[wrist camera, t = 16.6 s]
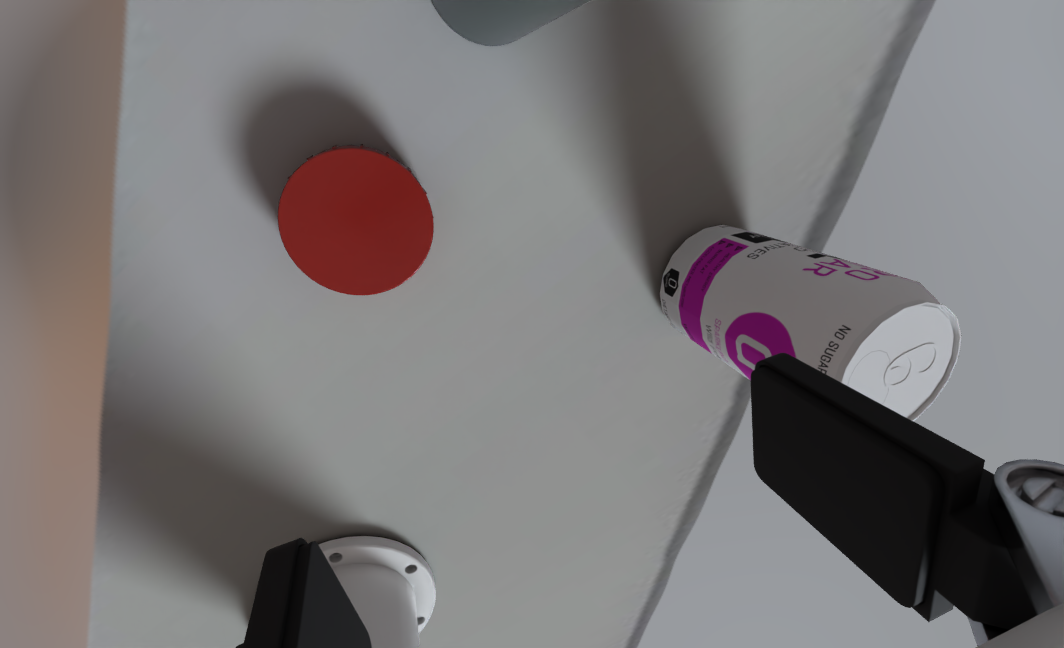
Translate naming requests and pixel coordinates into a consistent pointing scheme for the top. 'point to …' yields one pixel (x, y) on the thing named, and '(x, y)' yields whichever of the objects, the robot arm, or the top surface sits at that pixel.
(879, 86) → the top surface
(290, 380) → the top surface
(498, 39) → the jar
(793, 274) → the supplement can
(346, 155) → the lid
